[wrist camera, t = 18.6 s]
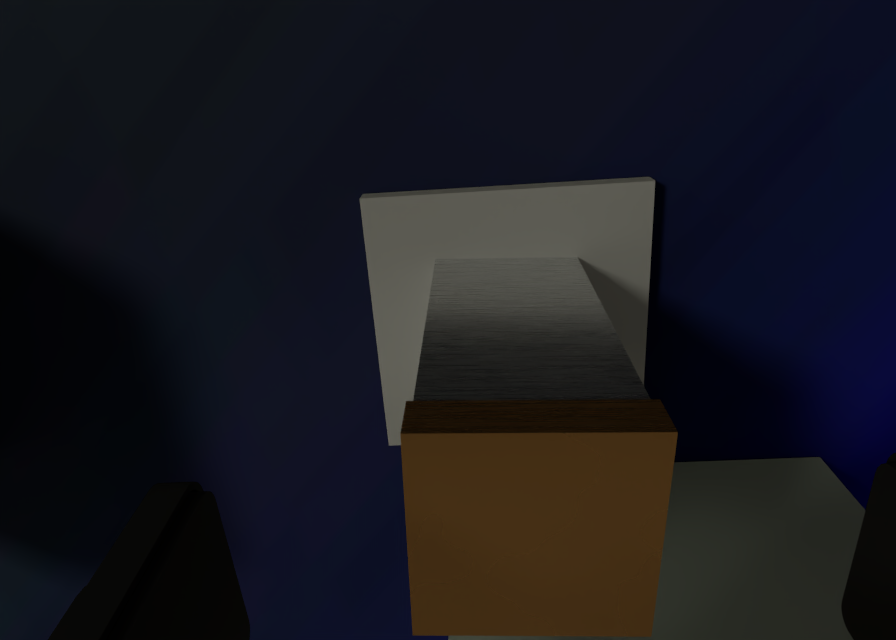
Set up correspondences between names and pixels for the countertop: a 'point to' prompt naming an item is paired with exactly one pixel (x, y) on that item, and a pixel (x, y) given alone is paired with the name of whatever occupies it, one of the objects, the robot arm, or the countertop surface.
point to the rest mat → (502, 236)
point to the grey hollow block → (751, 553)
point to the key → (531, 460)
